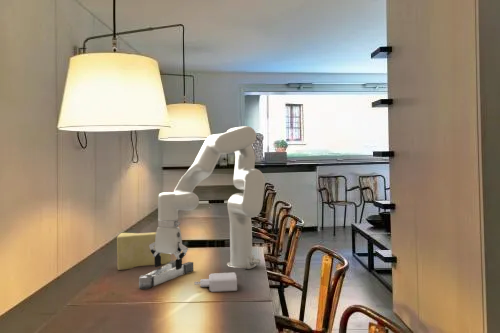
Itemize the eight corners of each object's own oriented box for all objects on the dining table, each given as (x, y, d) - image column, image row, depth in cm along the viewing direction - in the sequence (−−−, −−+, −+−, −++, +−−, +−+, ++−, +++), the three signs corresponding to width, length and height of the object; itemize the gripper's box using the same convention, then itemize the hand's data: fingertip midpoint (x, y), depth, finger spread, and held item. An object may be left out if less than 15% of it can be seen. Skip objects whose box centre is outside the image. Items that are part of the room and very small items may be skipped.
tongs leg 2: (155, 286, 152) (155, 276, 152) (150, 285, 153) (150, 275, 153) (193, 271, 171) (193, 262, 171) (189, 270, 172) (189, 261, 172)
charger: (194, 286, 156) (235, 283, 157) (194, 294, 146) (237, 291, 148) (194, 273, 155) (234, 271, 157) (194, 280, 146) (237, 278, 148)
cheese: (171, 262, 190) (170, 229, 190) (169, 268, 181) (169, 233, 180) (121, 265, 188) (120, 231, 188) (116, 270, 178) (116, 235, 178)
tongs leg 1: (148, 285, 153) (148, 275, 153) (143, 284, 154) (143, 274, 154) (177, 269, 175) (177, 260, 175) (172, 268, 175) (172, 260, 175)
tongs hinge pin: (154, 286, 152) (154, 275, 152) (146, 290, 148) (146, 278, 148) (144, 285, 154) (144, 274, 154) (136, 288, 150) (136, 277, 150)
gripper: (192, 224, 164) (192, 267, 164) (155, 221, 171) (155, 263, 171) (181, 226, 157) (181, 272, 157) (144, 224, 164) (144, 267, 164)
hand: (168, 267), depth 164 cm, fingers open, 9 cm apart
